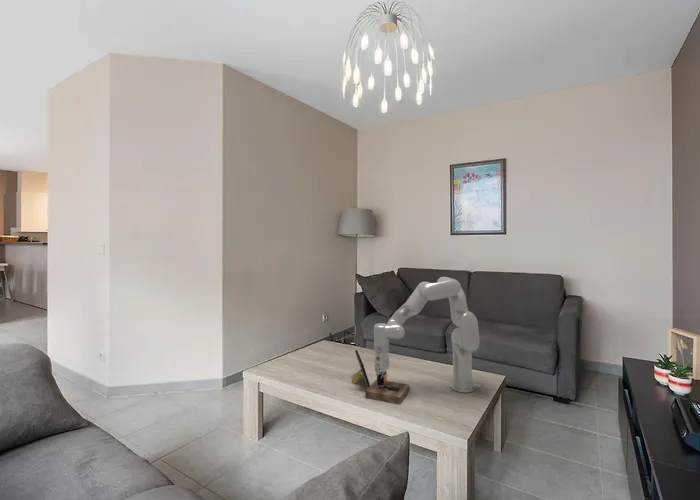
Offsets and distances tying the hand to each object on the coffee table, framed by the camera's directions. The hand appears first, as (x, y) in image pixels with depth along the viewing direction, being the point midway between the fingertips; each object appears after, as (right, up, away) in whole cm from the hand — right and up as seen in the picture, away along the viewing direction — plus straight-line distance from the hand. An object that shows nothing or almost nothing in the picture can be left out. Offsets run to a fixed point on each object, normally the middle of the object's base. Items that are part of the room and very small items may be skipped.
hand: (382, 383), depth 180 cm
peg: (0, -5, 0) cm, 5 cm away
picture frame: (-11, -5, +14) cm, 18 cm away
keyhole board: (+3, -5, -1) cm, 6 cm away
